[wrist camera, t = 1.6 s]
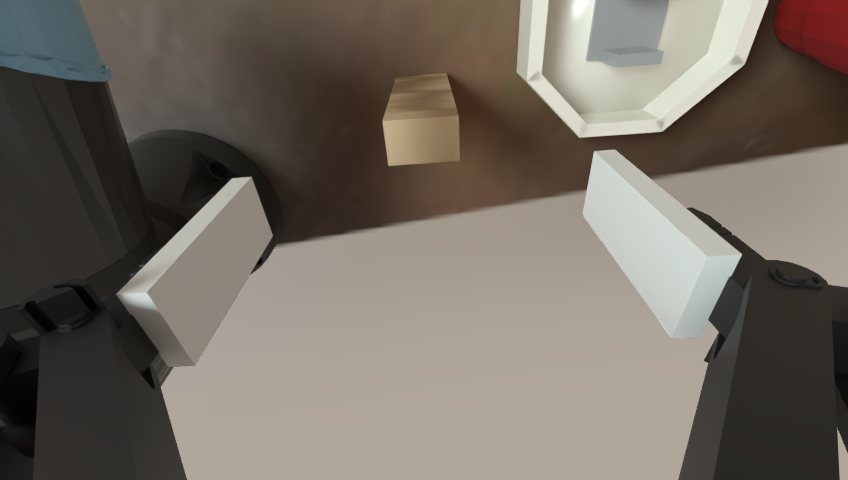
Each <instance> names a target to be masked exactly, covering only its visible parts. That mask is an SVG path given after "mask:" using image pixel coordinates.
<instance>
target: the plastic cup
mask: <svg viewBox="0 0 848 480" xmlns="http://www.w3.org/2000/svg"><path fill="white" fill-rule="evenodd" d="M773 26H774V30H775V33H776V37H777V38H778V39H779V40H780V41H782V42H783V43H784V44H785V45H787V46H788V47H789V48H790V49H792V50H795V51H797V52H799V53H802V54H804V55H807V56H809V57H811V58H813V59H814V60H815V61H816V62H818V63H821V64H823V65H825V66H828V67H830V68H832V69H835V70H837V71H839V72H842V73H844V74H846V75H848V0H780V1H779V3H778V5H777V7H776V11H775V17H774V22H773Z"/></svg>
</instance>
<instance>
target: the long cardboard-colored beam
mask: <svg viewBox="0 0 848 480" xmlns="http://www.w3.org/2000/svg"><path fill="white" fill-rule="evenodd" d="M382 122H383V129H384V136H385V144H386V151H387V159H388V166H395V165H409V164H423V163H437V162H451V161H460V149H459V114H458V111H457V108H456V104H455V101H454V97H453V94H452V90H451V87H450V83H449V80H448V77H447V73H440V74H428V75H415V76H402V77H396V79H395V82H394V85H393V89H392V92H391V95H390V98H389V102H388V105H387V108H386V111H385V115H384V118H383V121H382Z"/></svg>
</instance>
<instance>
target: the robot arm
mask: <svg viewBox="0 0 848 480" xmlns="http://www.w3.org/2000/svg"><path fill="white" fill-rule="evenodd" d="M110 79H112V75H111V72H110V69H109V67H108V66H107V65H106V64H105V63H104V62H103V61H102V60H101V58H100V55H99V53H98V50H97V48H96V45H95V42H94V40H93V37H92V35H91V32H90V29H89V27H88V24H87V22H86V19H85V16H84V14H83V11H82V8H81V6H80V3H79V1H78V0H0V480H187V479H186V475H185V472H184V468H183V464H182V461H181V457H180V454H179V451H178V447H177V443H176V440H175V436H174V433H173V429H172V426H171V422H170V419H169V415H168V412H167V408H166V405H165V401H164V398H163V394H162V391H161V386H162V384H163V383H164V381H165V380H166V378H167V376H168V375H169V374H170V372H171V370H172V369H173V367H178V366H194V365H196V363H197V361H198V359H199V358H200V356H201V355H202V353H203V351H204V350H205V348H206V346H207V345H208V343H209V342H210V340H211V338H212V337H213V335H214V333H215V332H216V329H217V328H218V327H219V325H220V323H221V321H222V320H223V318H224V317H225V315H226V313H227V311H228V310H229V308H230V307H231V305H232V303H233V302H234V300H235V298H236V297H237V295H238V293H239V292H240V290H241V288H242V287H243V285H244V283H245V281H246V280H247V278H248V277H249V275H250V274H252V273H253V272H254V271H256V270H257V269H258V268H260V267H261V266H262V265H263V263H264V262H265V261H266V260H267V259H268V257H269V255H270V254H271V252H272V251H273V249H274V247H275V246H276V244H277V242H278V239H279V237H280V233H281V228H282V216H281V210H280V206H279V203H278V200H277V197H276V195H275V193H274V191H273V189H272V187H271V186H270V184H269V183H268V181H267V180H266V178H265V177H264V176H263V174H262V173H261V172H260V171H259V170H258V169H257V168H256V167H255V166H254V165H253V164H252V163H251V162H250V161H249V160H248V159H247V158H245V157H244V156H243V155H241V154H240V153H239V152H237V151H236V150H234V149H233V148H231V147H229V146H228V145H226V144H224V143H222V142H220V141H218V140H215V139H213V138H210V137H208V136H205V135H202V134H198V133H194V132H189V131H182V130H163V131H156V132H152V133H148V134H146V135H143V136H141V137H139V138H137V139H135V140H133V141H131V142H130V143H128V144H127V141H126V138H125V135H124V132H123V129H122V126H121V123H120V120H119V117H118V114H117V111H116V107H115V104H114V101H113V98H112V95H111V92H110V89H109V85H108V82H107V81H109V80H110ZM582 215H583V216H584V218H585V219H586V220H587V222H588V223H589V225H590V226H591V227H592V229H593V230H594V232H595V233H596V234H597V236H598V237H599V239H600V240H601V241H602V243H603V244H604V246H605V247H606V248H607V250H608V251H609V253H610V254H611V255H612V257H613V258H614V259H615V261H616V262H617V264H618V265H619V266H620V268H621V269H622V271H623V272H624V273H625V275H626V276H627V278H628V279H629V280H630V282H631V283H632V285H633V286H634V287H635V289H636V290H637V291H638V293H639V294H640V296H641V297H642V299H643V300H644V301H645V303H646V304H647V305H648V307H649V308H650V309H651V311H652V312H653V314H654V315H655V316H656V318H657V319H658V321H659V322H660V324H661V325H662V326H663V328H664V329H665V331H666V332H667V333H668V335H669V336H670V338H671V339H680V338H697V337H701V336H702V334H703V332H704V330H705V328H706V326H707V324H708V322H709V321H710V322H711V323H712V324H713V326H714V327H715V328H716V329H717V330H718V331H719V333H718V335H717V337H716V339H715V341H714V343H713V344H712V346H711V349H710V350H709V352H708V354H707V356H706V358H705V359H704V361H705V362H708V367H707V371H706V375H705V380H704V382H703V386H702V390H701V394H700V398H699V402H698V406H697V410H696V414H695V417H694V421H693V425H692V429H691V433H690V437H689V441H688V445H687V449H686V452H685V456H684V460H683V464H682V468H681V472H680V476H679V480H840V479H839V458H838V438H837V428H838V430H839V433H840V435H841V437H842V440H843V442H844V445H845V447H846V450H847V452H848V288H847V287H840V286H832V285H828V283H827V281H826V280H824V279H823V278H822V277H821V276H820V275H818V274H817V273H815V272H813V271H811V270H809V269H807V268H805V267H802V266H799V265H796V264H793V263H789V262H784V261H779V260H765V259H764V258H763V257H762V256H760V255H759V254H758V253H757V252H755V251H754V250H753V249H751V248H750V247H749V246H747V245H746V244H745V243H744V242H742V241H741V240H740V239H738V238H737V237H736V236H735V235H732V233H731V232H730V231H728V230H727V229H726V228H725V227H722V225H721V224H720V223H718V222H717V221H716V220H714V219H713V218H712V217H711V216H709V215H707V214H705V213H703V212H700V211H698V210H696V209H694V208H685V207H684V206H683V205H682V204H680V203H679V202H678V201H677V200H675V199H674V198H673V197H672V196H671V195H669V194H668V193H667V192H666V191H665V190H663V189H662V188H661V187H660V186H659V185H657V184H656V183H655V182H653V181H652V180H651V179H650V178H649V177H648V176H646V175H645V174H644V173H643V172H642V171H640V170H639V169H638V168H637V167H635V166H634V165H633V164H632V163H631V162H629V161H628V160H627V159H626V158H625V157H623V156H622V155H621V154H620V153H618V152H617V151H616V150H603V151H594V155H593V160H592V166H591V171H590V176H589V182H588V187H587V192H586V198H585V203H584V209H583V214H582Z"/></svg>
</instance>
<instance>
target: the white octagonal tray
mask: <svg viewBox="0 0 848 480" xmlns="http://www.w3.org/2000/svg"><path fill="white" fill-rule="evenodd" d="M768 1H769V0H521V6H520V22H519V39H518V55H517V71H516V72H517V74H518V75H519V76H520V77H521V78H522V79H523V80H524V81H525V82H526V83H527V84H528V85H529V86H530V87H531V88H532V89H533V90H534V92H535V93H536V94H537V95H538V96H539V97H540V98H541V99H542V100H543V101H544V102H545V103H546V104H547V105H548V106H549V107H550V109H551V110H552V111H553V112H554V113H555V114H556V115H557V116H558V117H559V118H560V119H561V120H562V121H563V122H564V123H565V124H566V125H567V126H568V127H569V128H570V129H571V130H572V131H573V132H574V133H575V134H576V135H577V136H578V137H579V138H582V137H596V136H610V135H624V134H638V133H652V132H662V131H664V130H665V129H666V128H667V127H668V126H670V125H671V124H672V123H673V122H675V121H676V120H677V119H678V118H679V117H681V116H682V115H683V114H684V113H686V112H687V111H688V110H689V109H691V108H692V107H693V106H694V105H695V104H697V103H698V102H699V101H700V100H702V99H703V98H704V97H705V96H707V95H708V94H709V93H710V92H711V91H713V90H714V89H715V88H716V87H718V86H719V85H720V84H721V83H723V82H724V81H725V80H726V79H727V78H729V77H730V76H731V75H732V74H734V73H735V72H736V71H737V70H738V69H740V68H741V67H742V66H743V65H745V62H746V60H747V57H748V54H749V52H750V49H751V46H752V44H753V41H754V38H755V36H756V33H757V30H758V28H759V25H760V22H761V20H762V17H763V14H764V12H765V9H766V6H767V4H768Z"/></svg>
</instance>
